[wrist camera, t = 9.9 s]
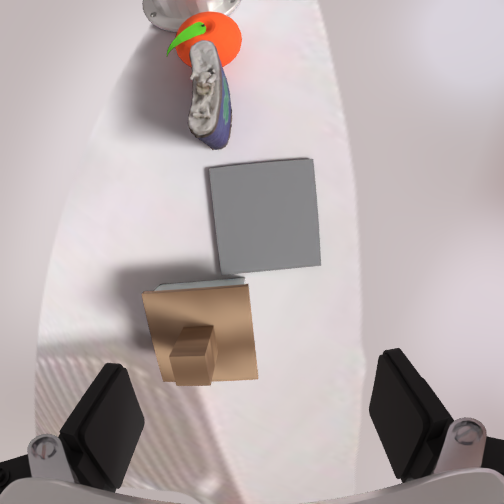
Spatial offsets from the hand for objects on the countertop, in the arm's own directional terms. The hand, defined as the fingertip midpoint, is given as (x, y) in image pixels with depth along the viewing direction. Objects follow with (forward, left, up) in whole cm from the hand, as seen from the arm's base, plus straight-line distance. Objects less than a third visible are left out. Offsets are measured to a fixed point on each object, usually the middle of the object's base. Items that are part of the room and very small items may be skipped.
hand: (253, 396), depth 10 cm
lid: (+8, -6, -20) cm, 22 cm away
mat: (-4, +2, -24) cm, 24 cm away
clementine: (-23, -3, -24) cm, 34 cm away
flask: (-16, -2, -24) cm, 29 cm away
